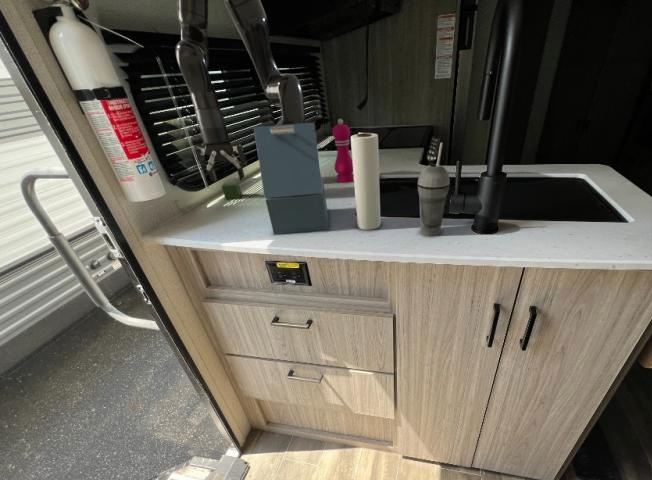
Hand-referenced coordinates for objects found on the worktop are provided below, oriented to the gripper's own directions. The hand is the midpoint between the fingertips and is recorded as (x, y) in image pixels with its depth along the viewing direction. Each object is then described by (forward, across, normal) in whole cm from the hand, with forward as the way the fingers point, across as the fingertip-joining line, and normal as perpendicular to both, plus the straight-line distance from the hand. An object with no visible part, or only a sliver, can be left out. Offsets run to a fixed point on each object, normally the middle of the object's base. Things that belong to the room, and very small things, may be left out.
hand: (228, 180), depth 105 cm
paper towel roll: (+6, -42, +35) cm, 55 cm away
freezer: (+6, -25, +28) cm, 38 cm away
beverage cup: (+6, -56, +43) cm, 71 cm away
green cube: (+6, 0, -1) cm, 6 cm away
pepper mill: (+5, -39, -9) cm, 41 cm away
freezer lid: (-11, -24, +32) cm, 41 cm away
